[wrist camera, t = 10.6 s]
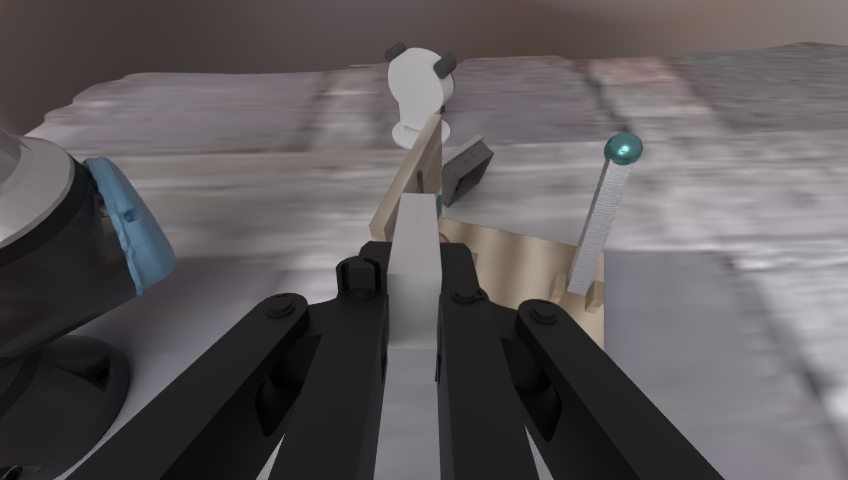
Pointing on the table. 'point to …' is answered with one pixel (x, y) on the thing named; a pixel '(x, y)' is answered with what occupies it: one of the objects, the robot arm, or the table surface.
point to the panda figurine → (419, 89)
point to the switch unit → (495, 244)
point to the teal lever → (603, 208)
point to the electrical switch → (464, 168)
